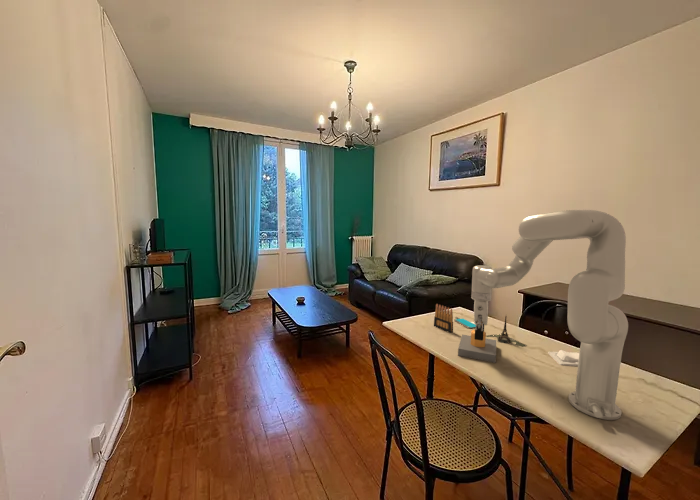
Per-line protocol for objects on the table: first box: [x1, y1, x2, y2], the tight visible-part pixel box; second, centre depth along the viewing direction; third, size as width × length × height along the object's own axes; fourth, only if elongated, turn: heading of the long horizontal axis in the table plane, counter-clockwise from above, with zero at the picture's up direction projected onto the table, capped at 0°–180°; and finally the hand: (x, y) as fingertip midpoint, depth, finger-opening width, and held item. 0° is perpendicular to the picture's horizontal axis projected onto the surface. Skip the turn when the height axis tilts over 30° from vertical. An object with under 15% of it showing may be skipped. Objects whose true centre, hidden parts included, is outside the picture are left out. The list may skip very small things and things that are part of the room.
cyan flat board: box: [453, 316, 476, 330], centre depth 162 cm, size 20×12×2 cm, turn 17°
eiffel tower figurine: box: [486, 315, 528, 348], centre depth 140 cm, size 15×10×13 cm
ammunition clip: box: [433, 303, 454, 334], centre depth 154 cm, size 11×2×12 cm, turn 33°
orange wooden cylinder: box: [470, 329, 487, 347], centre depth 130 cm, size 6×6×5 cm
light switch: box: [547, 349, 580, 367], centre depth 123 cm, size 11×4×13 cm
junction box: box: [457, 334, 497, 364], centre depth 130 cm, size 16×14×7 cm
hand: (479, 335), depth 129 cm, fingers open, 9 cm apart
